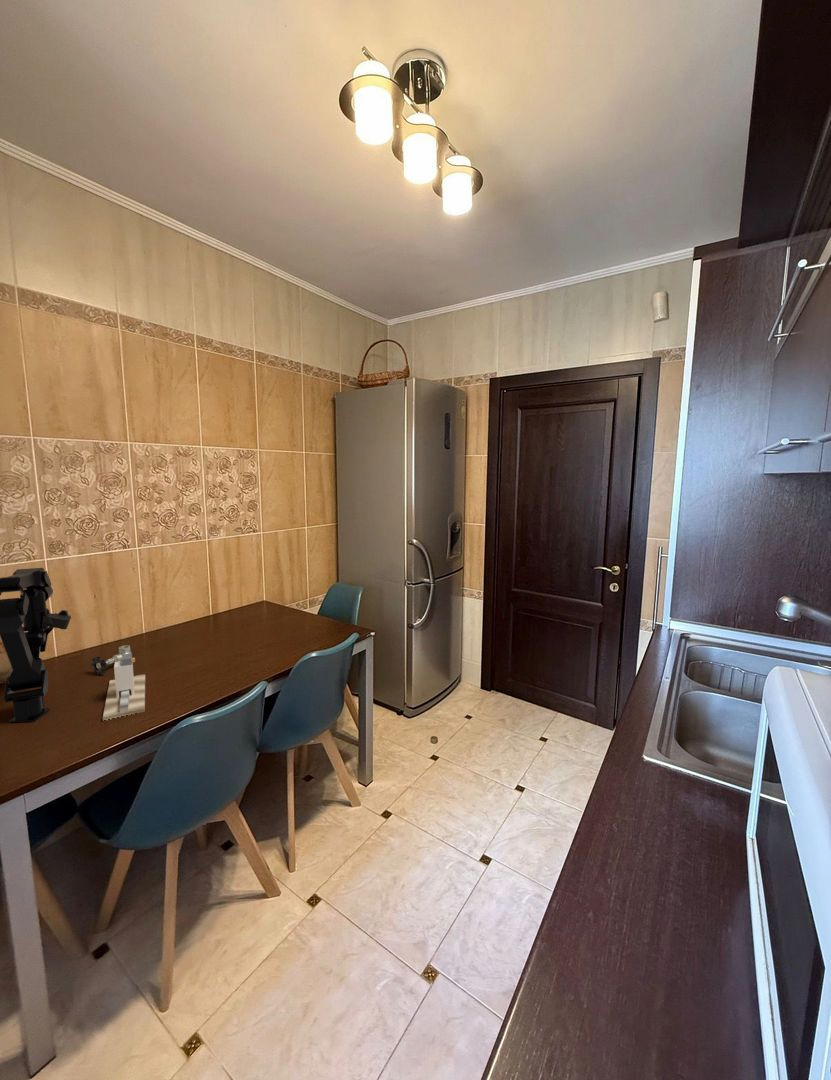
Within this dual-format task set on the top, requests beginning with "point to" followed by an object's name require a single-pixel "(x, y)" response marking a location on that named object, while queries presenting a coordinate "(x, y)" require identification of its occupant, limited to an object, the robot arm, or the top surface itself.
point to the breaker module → (124, 674)
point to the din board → (133, 699)
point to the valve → (115, 658)
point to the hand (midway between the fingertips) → (39, 656)
